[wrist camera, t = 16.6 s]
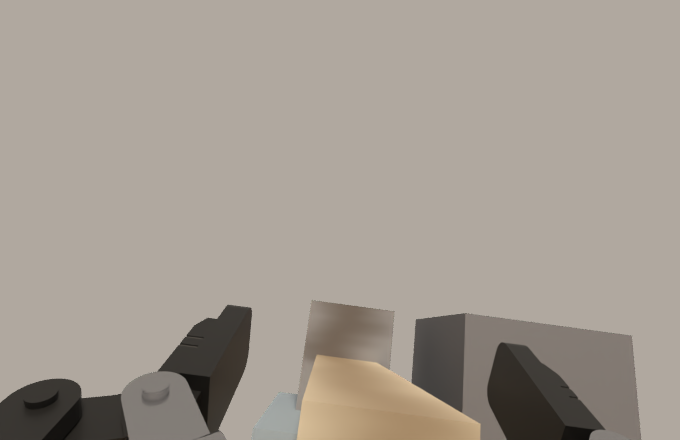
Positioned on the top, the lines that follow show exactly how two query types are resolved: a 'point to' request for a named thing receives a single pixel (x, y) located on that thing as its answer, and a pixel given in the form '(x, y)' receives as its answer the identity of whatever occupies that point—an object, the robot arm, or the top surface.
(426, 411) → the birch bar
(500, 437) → the tall stand
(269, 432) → the base pedestal
